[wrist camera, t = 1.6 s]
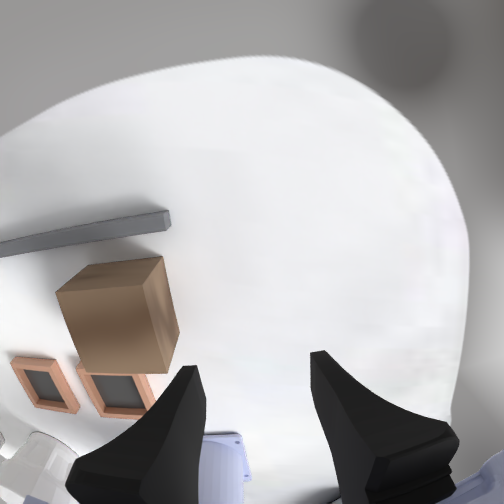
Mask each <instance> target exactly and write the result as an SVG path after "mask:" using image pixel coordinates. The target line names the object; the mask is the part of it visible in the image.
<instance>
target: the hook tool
mask: <svg viewBox="0 0 504 504" xmlns="http://www.w3.org/2000/svg"><path fill="white" fill-rule="evenodd" d="M170 226H171V221H170V215H169V211H162V212H155V213H149V214H143V215H137V216H131V217H125V218H119V219H113V220H107V221H102V222H96V223H91V224H86V225H80V226H75V227H70V228H65V229H60V230H55V231H50V232H45V233H41V234H36V235H31V236H27V237H22V238H18V239H13V240H9V241H5V242H1V243H0V258H2V257H8V256H13V255H18V254H24V253H29V252H35V251H40V250H46V249H52V248H58V247H64V246H70V245H76V244H82V243H88V242H94V241H100V240H107V239H113V238H120V237H126V236H133V235H140V234H147V233H154V232H161V231H166V230H167V229H168V228H169V227H170Z"/></svg>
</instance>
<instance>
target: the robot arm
mask: <svg viewBox="0 0 504 504" xmlns="http://www.w3.org/2000/svg"><path fill="white" fill-rule="evenodd" d="M310 369H311V392H312V396H313V401H314V405H315V409H316V411H317V414H318V417H319V420H320V422H321V425H322V428H323V431H324V433H325V436H326V439H327V441H328V444H329V447H330V450H331V453H332V457H333V462H334V466H335V470H336V475H337V480H338V484H339V489H340V494H341V500H342V504H504V449H503V450H502V451H500V452H499V453H497V454H495V455H494V456H492V457H491V458H489V459H488V460H487V461H486V462H485V463H484V464H483V466H482V467H481V468H480V470H479V471H478V472H477V473H475V474H473V475H471V476H470V477H468V478H466V479H464V480H462V481H460V482H458V483H456V484H454V482H453V480H452V479H451V477H450V474H451V473H452V470H451V468H450V466H449V465H448V464H449V463H450V461H451V460H452V458H453V456H454V455H455V453H456V451H457V449H458V447H459V439H458V437H457V436H456V434H455V432H454V431H453V430H452V428H451V427H450V426H449V425H448V423H447V422H445V421H440V420H436V419H432V418H428V417H424V416H421V415H418V414H415V413H412V412H410V411H407V410H405V409H403V408H400V407H398V406H396V405H394V404H392V403H390V402H388V401H386V400H384V399H383V398H381V397H379V396H378V395H376V394H374V393H373V392H371V391H370V390H369V389H367V388H366V387H365V386H363V385H362V384H361V383H359V382H358V381H357V380H356V379H354V378H353V377H352V376H351V375H350V374H349V373H348V372H346V371H345V370H344V369H343V368H342V367H341V366H340V365H339V364H338V363H337V362H336V361H335V360H334V359H333V358H332V357H331V356H330V355H329V354H328V353H327V352H326V351H325V350H323V351H317V352H311V353H310ZM205 422H206V396H205V393H204V389H203V386H202V382H201V379H200V375H199V371H198V368H197V365H192V366H183V367H182V368H181V369H180V370H179V372H178V373H177V375H176V376H175V377H174V379H173V380H172V382H171V383H170V384H169V386H168V387H167V388H166V390H165V391H164V392H163V393H162V395H161V396H160V397H159V398H158V400H157V401H156V402H155V403H154V404H153V405H152V406H151V408H150V409H149V410H148V411H147V412H146V413H145V414H144V415H143V416H142V417H141V418H140V419H139V420H138V421H137V422H136V423H135V424H133V425H132V426H131V427H130V428H128V429H127V430H126V431H124V432H123V433H122V434H120V435H119V436H118V437H116V438H115V439H113V440H112V441H110V442H109V443H107V444H105V445H104V446H102V447H100V448H98V449H96V450H94V451H92V452H90V453H88V454H86V455H84V456H81V457H79V458H77V459H75V461H74V463H73V465H72V468H71V470H70V472H69V475H68V478H67V480H66V483H65V487H66V489H67V491H68V492H69V494H70V495H71V496H72V497H73V498H74V499H75V500H76V501H78V502H79V503H80V504H244V487H243V482H245V481H251V480H252V476H251V472H250V469H249V465H248V461H247V456H246V452H245V448H244V444H243V440H242V436H241V435H239V434H228V435H206V436H203V435H204V428H205ZM23 504H49V503H47V502H45V501H43V500H40V499H37V498H35V497H32V496H30V495H26V498H25V500H24V502H23Z"/></svg>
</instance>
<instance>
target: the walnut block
mask: <svg viewBox="0 0 504 504" xmlns="http://www.w3.org/2000/svg"><path fill="white" fill-rule="evenodd" d="M55 293H56V296H57V299H58V302H59V305H60V308H61V311H62V314H63V316H64V319H65V322H66V325H67V327H68V330H69V332H70V335H71V338H72V340H73V343H74V345H75V347H76V350H77V352H78V355H79V357H80V359H81V362H82V364H83V366H84V368H85V370H86V372H88V373H115V374H166V373H168V370H169V367H170V363H171V360H172V357H173V353H174V350H175V347H176V343H177V340H178V337H179V333H180V332H179V327H178V323H177V319H176V315H175V311H174V306H173V302H172V298H171V293H170V288H169V284H168V279H167V274H166V269H165V264H164V259H163V256H162V257H153V258H145V259H136V260H127V261H119V262H110V263H102V264H93V265H88V266H86V267H85V268H84V269H83V270H81V271H80V272H79V273H78V274H76V275H75V276H74V277H73V278H72V279H70V280H69V281H68V282H67V283H66V284H64V285H63V286H62V287H61V288H60V289H59V290H57V291H56V292H55Z"/></svg>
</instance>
